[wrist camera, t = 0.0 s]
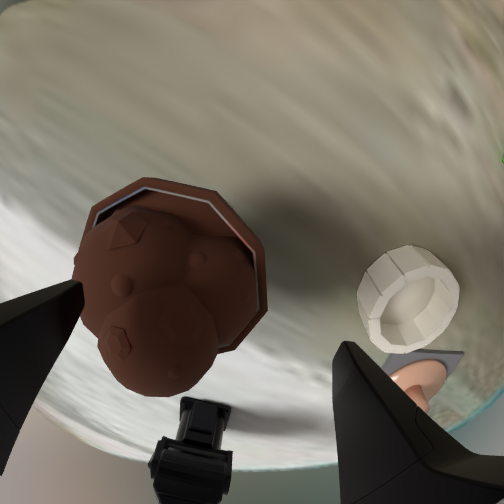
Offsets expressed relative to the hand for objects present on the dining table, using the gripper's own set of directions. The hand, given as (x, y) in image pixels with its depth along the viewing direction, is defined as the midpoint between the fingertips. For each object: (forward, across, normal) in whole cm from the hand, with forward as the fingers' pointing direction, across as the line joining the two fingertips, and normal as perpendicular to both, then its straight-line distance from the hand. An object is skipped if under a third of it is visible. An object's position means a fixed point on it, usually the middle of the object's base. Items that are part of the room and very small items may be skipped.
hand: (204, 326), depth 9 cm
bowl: (+15, -16, +4) cm, 22 cm away
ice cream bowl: (+15, +3, +2) cm, 15 cm away
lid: (+14, -25, +17) cm, 34 cm away
